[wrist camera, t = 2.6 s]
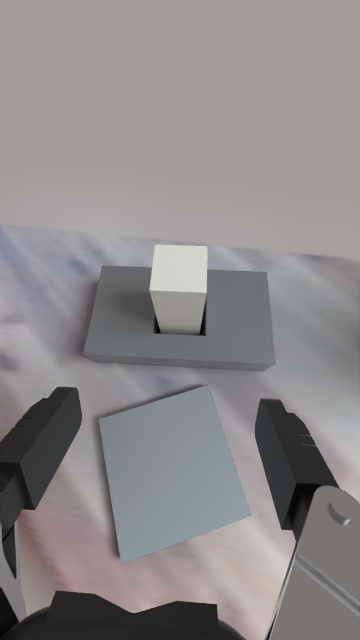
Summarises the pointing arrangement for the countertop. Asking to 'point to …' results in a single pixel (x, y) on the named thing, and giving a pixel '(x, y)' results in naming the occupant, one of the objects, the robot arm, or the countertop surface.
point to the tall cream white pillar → (179, 288)
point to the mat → (169, 473)
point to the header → (182, 350)
